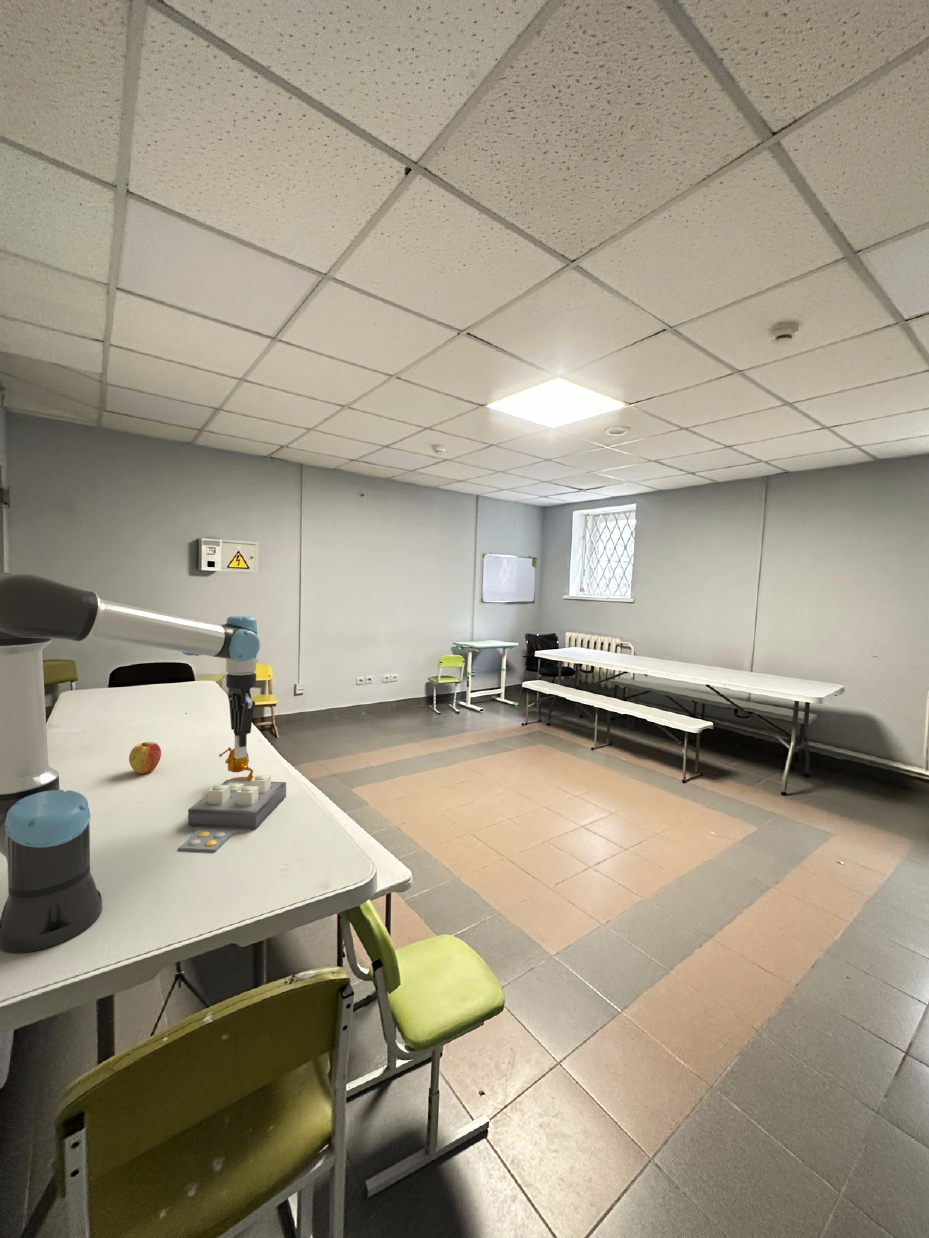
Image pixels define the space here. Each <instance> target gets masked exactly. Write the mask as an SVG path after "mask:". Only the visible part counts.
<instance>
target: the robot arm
mask: <svg viewBox="0 0 929 1238" xmlns="http://www.w3.org/2000/svg"><path fill="white" fill-rule="evenodd" d="M90 638H91V639H99V640H104V641H112V642H117V643H123V644H131V645H136V646H137V645H138V646H142V647H143V646H144V647H150V648H156V649H163V650H171V651H177V652H181V653H183V654H184V655H185V656H187V657H188V656H196V657H198V656H209V657H215V658H219V659H225V672H226V673H227V674H226V676H225V677H226V678H225V680H226V681H225V683H226V684H225V685H226V687H227V688H228V689H230V690H231V689H232V690H231V693H229V694H227V698H228V703H229V714H230V729H231V730H233V733H234V748H235V749H234V748H233V749H234V758H236V759H239V758H244V757H247V753H248V749H247V748H248V747H247V746H248V745H247V743H248V735H249V734H251V732H252V723H253V715H254V708H255V705H256V701H255V700H252V695H251V689H252V688H254V687H256V686H257V673H256V671H257V663H258V662H259V661H258V659H257V655H258V654H259V652H260V648H261V641H260V638H259V636H258V623H257V619H256V618H255V617H253V616H247V615H241V616H240V615H233V616H228V617H227V618H226V623H224V624H218V623H217V624H216V623H213V622H208V621H202V620H199V619H195V618H194V619H193V618H189V617H186V616H185V617H184V616H180V615H175V614H171V613H166V612H161V611H158V610H157V611H156V610H153V609H149V608H148V609H147V608H143V607H138V606H133V605H129V604H125V603H120V602H115V601H111V600H105V599H101V598H100V597H99V595H98V593H96V592H94V591H88V590H84V589H81V588H77V587H75V586H74V587H73V586H71V585H67V584H64V583H61V582H58V581H56V580H52V579H50V578H46V577H43V576H40V575H35V574H31V573H30V574H29V573H12V572H0V854H2V855H3V856H4V857H5V859H6V863H7V884H8V885H7V886H8V887H7V889H8V891H7V893H8V895H7V898H6V902H5V904H4V906H3V909H2V912H1V915H0V950H1V951H3V952H7V953H13V954H16V953H17V954H20V953H29V952H36V951H39V950H45V949H47V948H50V947H53V946H56V945H59V944H62V943H64V942H66V941H68V940H70V939H72V938H75V937H76V936H78V935H79V934H81V933H83V932H84V931H86V930H87V929H88V928H89V927H91V926H92V925H93V924H94V923H96V921H97V920H98V919H99V918H100V916H101V915H102V912H103V897H102V894H101V892H100V891H99V889H98V888H97V885H96V883H95V880H94V877H93V876H92V873H91V841H90V840H91V838H90V837H91V834H90V832H91V831H90V829H91V828H90V820H91V811H90V807H89V802H88V799H87V798H86V796H85V795H83V794H82V793H80V792H78V791H74V790H68V789H67V790H65V791H64V790H63V789H60V776H59V775H60V774H59V771H58V770H56V769H54V768H52V767H50V766H49V753H48V752H49V749H48V748H49V747H48V734H47V717H46V715H47V713H46V698H45V696H46V695H45V681H44V679H45V677H44V676H45V675H44V663H43V662H44V660H43V650H44V649H45V648H46V647H47V646H49V645H50V644H51V643H52V640H53V639H55V640H57V639H58V640H65V641H66V640H68V641H74V642H75V641H76V642H84V641H86V640H88V639H90Z"/></svg>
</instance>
